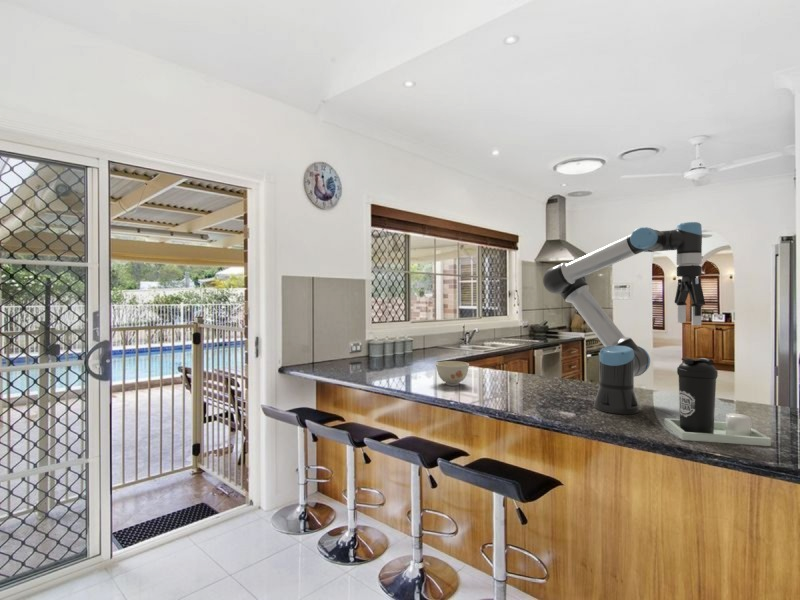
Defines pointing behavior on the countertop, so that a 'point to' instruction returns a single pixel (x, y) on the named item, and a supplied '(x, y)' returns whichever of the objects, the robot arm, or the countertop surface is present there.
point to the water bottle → (697, 395)
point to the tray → (718, 434)
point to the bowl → (452, 371)
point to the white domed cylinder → (738, 424)
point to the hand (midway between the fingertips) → (688, 323)
